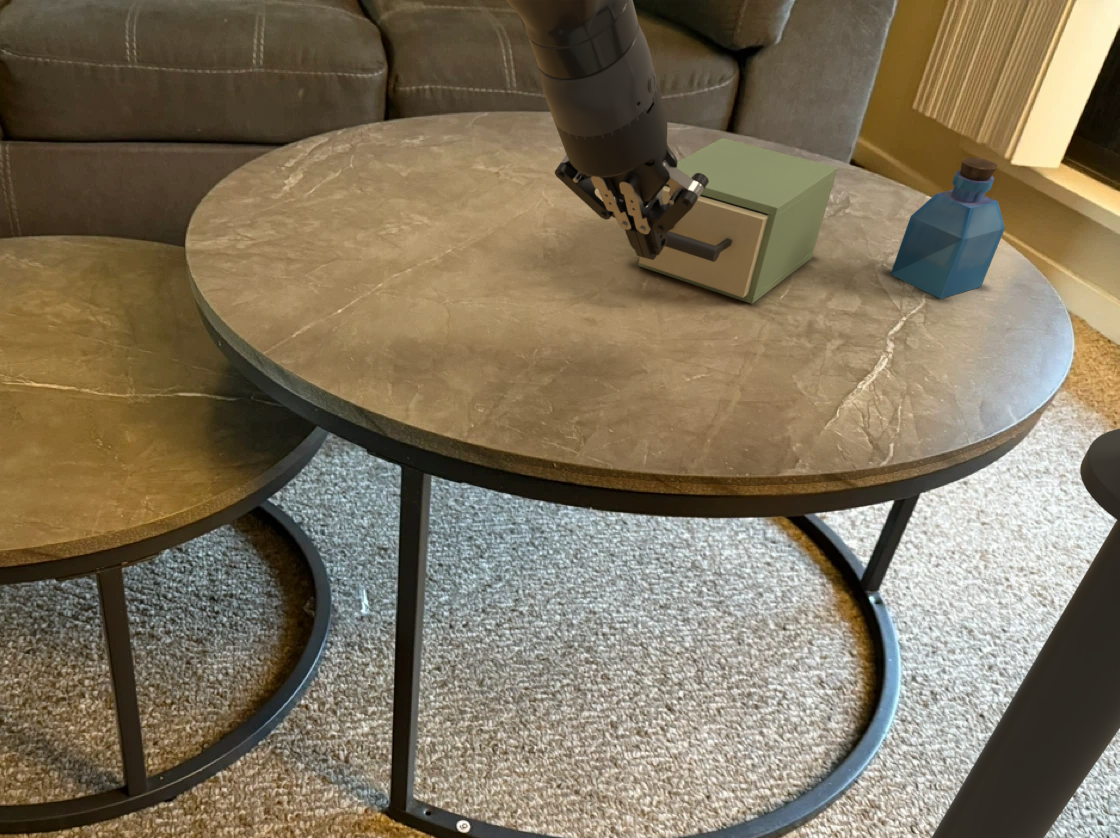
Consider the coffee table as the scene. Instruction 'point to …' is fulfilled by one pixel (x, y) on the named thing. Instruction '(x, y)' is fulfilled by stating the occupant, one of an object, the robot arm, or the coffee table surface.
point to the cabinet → (766, 203)
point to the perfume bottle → (953, 235)
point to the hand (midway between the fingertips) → (651, 250)
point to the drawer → (713, 245)
